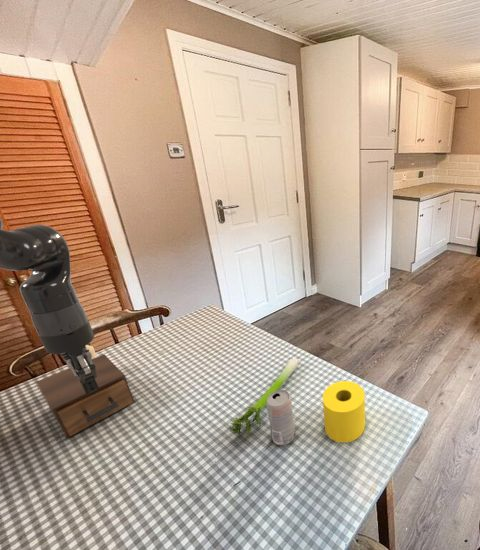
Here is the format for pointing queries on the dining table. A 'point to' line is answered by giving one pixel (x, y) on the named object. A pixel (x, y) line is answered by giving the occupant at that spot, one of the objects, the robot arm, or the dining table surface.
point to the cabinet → (77, 386)
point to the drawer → (95, 407)
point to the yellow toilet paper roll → (344, 411)
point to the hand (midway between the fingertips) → (92, 391)
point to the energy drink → (281, 417)
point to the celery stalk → (263, 400)
